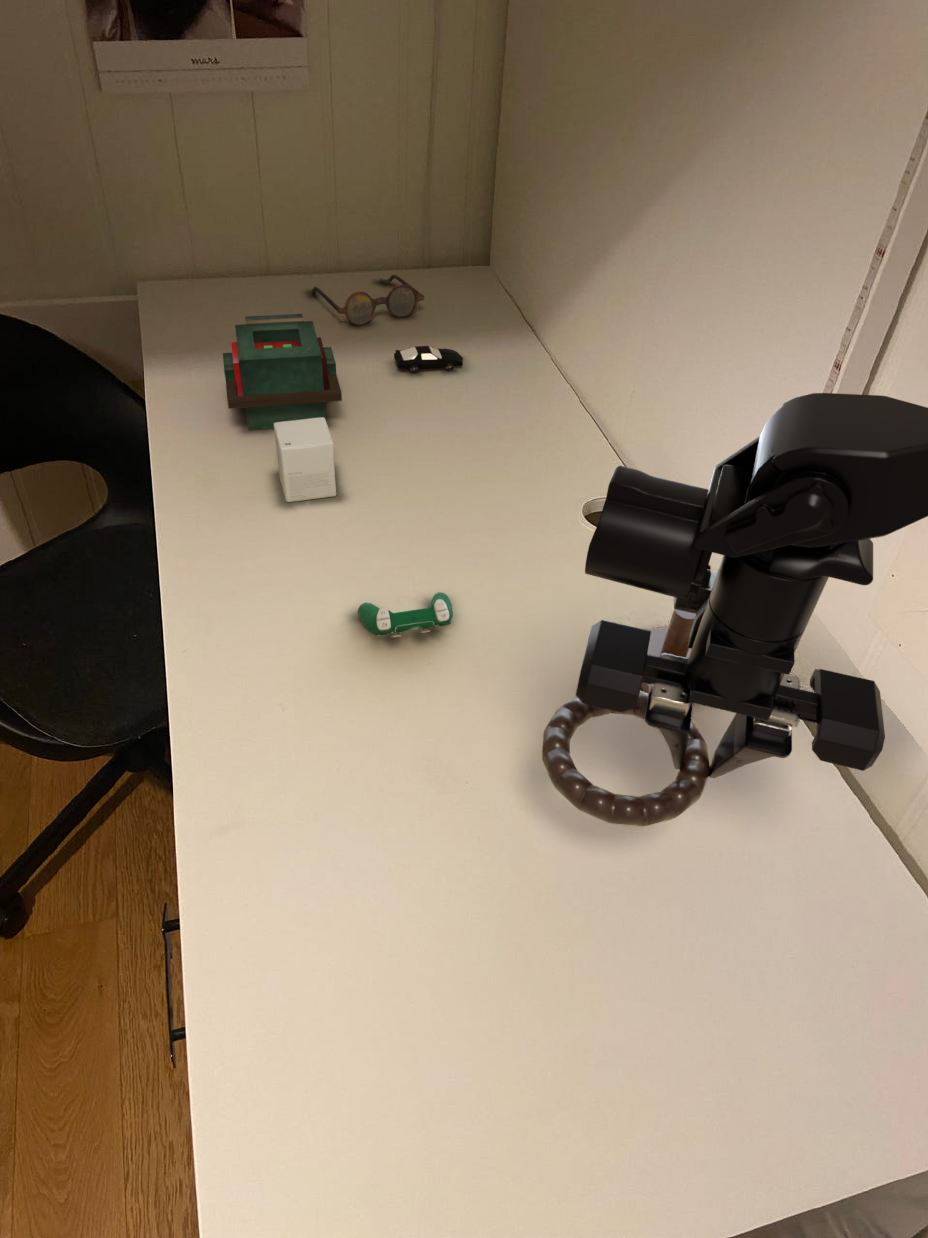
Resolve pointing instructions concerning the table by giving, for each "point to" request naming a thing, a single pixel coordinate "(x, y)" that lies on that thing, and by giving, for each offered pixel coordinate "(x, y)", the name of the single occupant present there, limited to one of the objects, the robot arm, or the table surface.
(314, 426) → the product box
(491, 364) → the table surface
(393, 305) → the eyeglasses
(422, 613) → the gaming controller
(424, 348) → the toy car
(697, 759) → the ring
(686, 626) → the peg stand
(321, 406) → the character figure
